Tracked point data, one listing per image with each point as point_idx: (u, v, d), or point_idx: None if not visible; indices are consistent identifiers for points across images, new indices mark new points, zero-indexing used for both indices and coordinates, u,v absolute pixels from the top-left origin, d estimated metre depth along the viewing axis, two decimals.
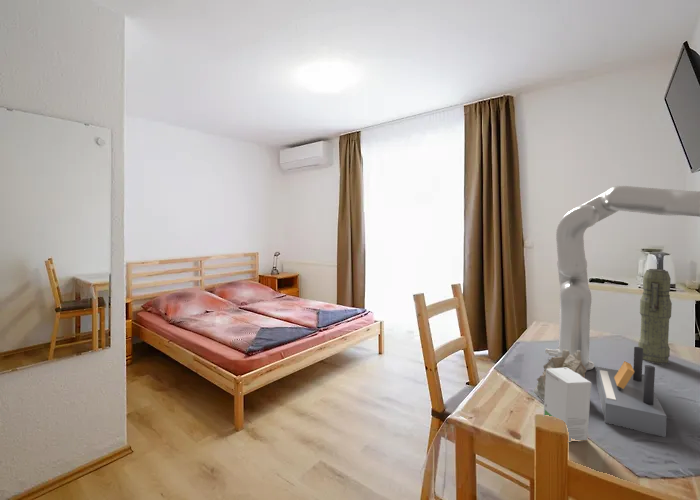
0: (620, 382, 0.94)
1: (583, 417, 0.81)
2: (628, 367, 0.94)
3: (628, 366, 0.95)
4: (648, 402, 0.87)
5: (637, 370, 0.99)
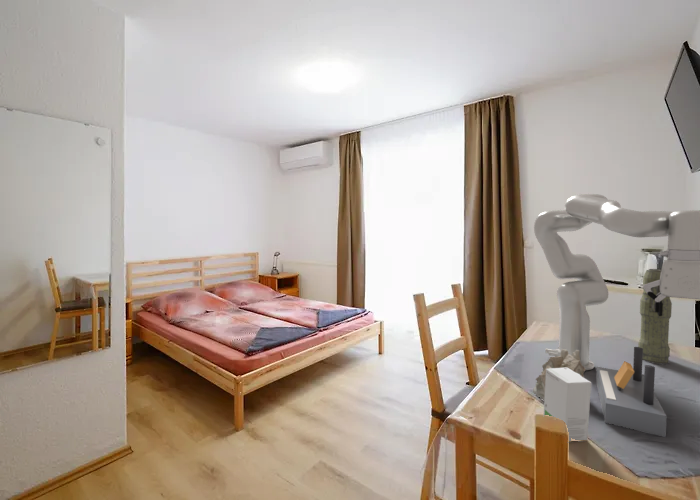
0: (620, 382, 0.94)
1: (583, 417, 0.81)
2: (628, 367, 0.94)
3: (628, 366, 0.95)
4: (648, 402, 0.87)
5: (637, 370, 0.99)
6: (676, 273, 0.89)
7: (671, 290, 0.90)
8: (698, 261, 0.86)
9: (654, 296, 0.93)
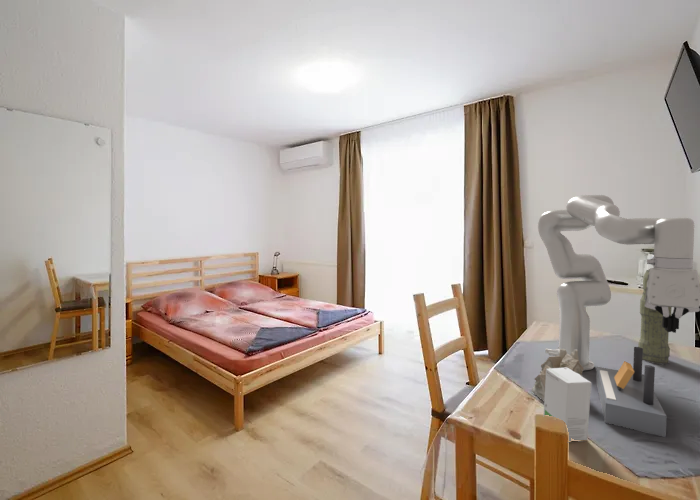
0: (620, 382, 0.94)
1: (583, 417, 0.81)
2: (628, 367, 0.94)
3: (628, 366, 0.95)
4: (648, 402, 0.87)
5: (637, 370, 0.99)
6: (663, 281, 0.88)
7: (659, 299, 0.88)
8: (685, 269, 0.85)
9: (662, 311, 0.90)
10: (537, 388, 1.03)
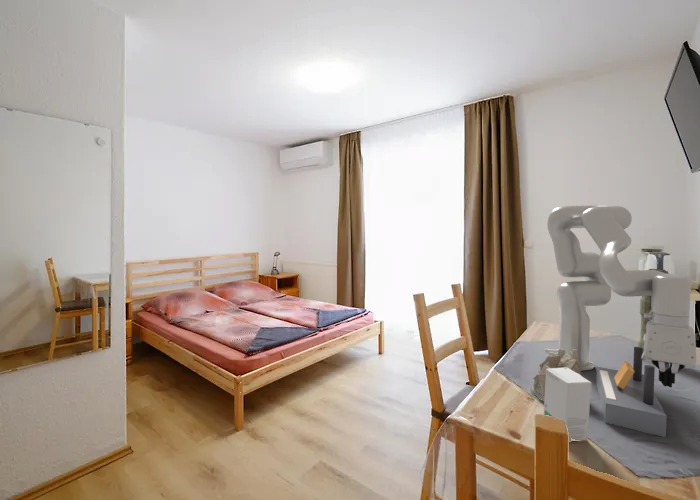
0: (620, 382, 0.94)
1: (583, 417, 0.81)
2: (628, 367, 0.94)
3: (628, 366, 0.95)
4: (648, 402, 0.87)
5: (637, 370, 0.99)
6: (660, 337, 0.89)
7: (655, 354, 0.90)
8: (681, 327, 0.86)
9: (659, 365, 0.91)
10: (536, 388, 1.03)
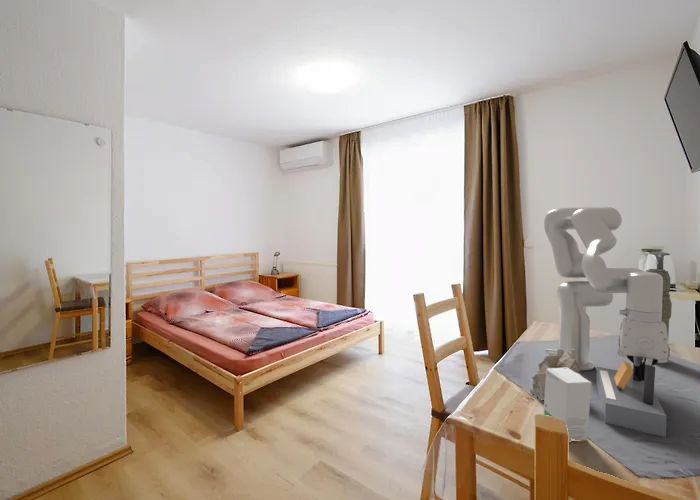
0: (620, 382, 0.94)
1: (583, 417, 0.81)
2: (627, 367, 0.94)
3: (627, 366, 0.95)
4: (648, 402, 0.87)
5: None
6: (634, 333, 0.92)
7: (630, 349, 0.92)
8: (654, 323, 0.89)
9: (634, 360, 0.94)
10: (535, 387, 1.04)
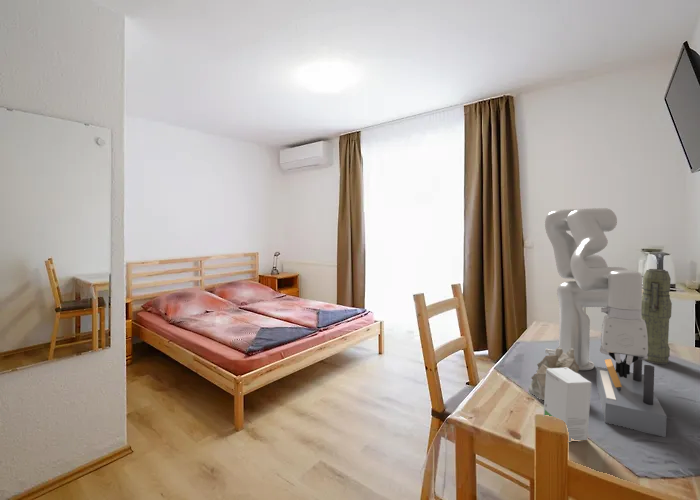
0: (614, 382, 0.95)
1: (583, 417, 0.81)
2: (607, 364, 0.97)
3: (607, 363, 0.97)
4: (648, 402, 0.87)
5: (637, 370, 0.99)
6: (615, 330, 0.94)
7: (611, 346, 0.94)
8: (634, 320, 0.91)
9: (615, 357, 0.96)
10: (534, 387, 1.04)
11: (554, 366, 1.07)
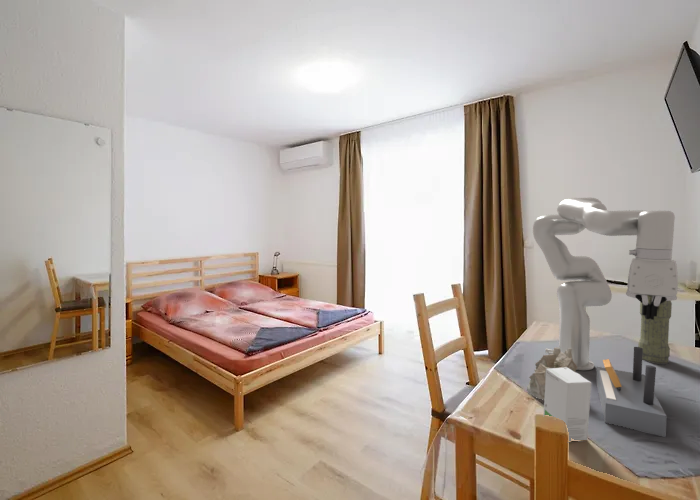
0: (613, 382, 0.95)
1: (583, 417, 0.81)
2: (605, 365, 0.97)
3: (605, 364, 0.98)
4: (648, 402, 0.87)
5: (637, 370, 0.99)
6: (643, 271, 0.92)
7: (638, 288, 0.93)
8: (664, 260, 0.89)
9: None
10: (532, 386, 1.04)
11: (552, 365, 1.07)
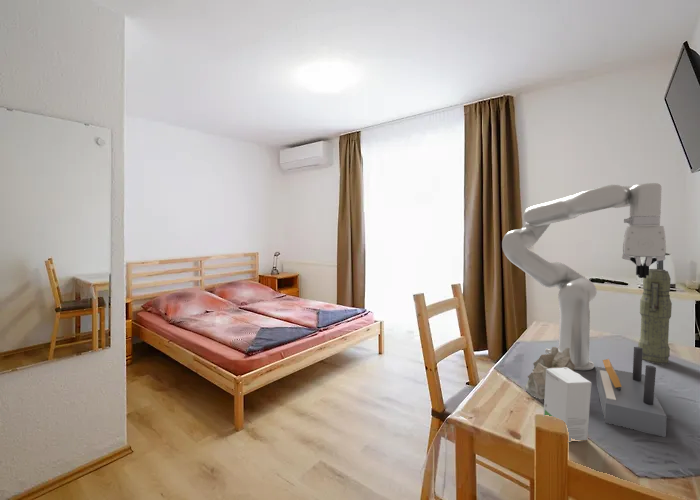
0: (613, 382, 0.95)
1: (583, 417, 0.81)
2: (605, 365, 0.97)
3: (605, 364, 0.98)
4: (648, 402, 0.87)
5: (637, 370, 0.99)
6: (636, 236, 1.07)
7: (632, 250, 1.07)
8: (653, 225, 1.04)
9: (636, 261, 1.09)
10: (530, 386, 1.05)
11: (550, 365, 1.08)
